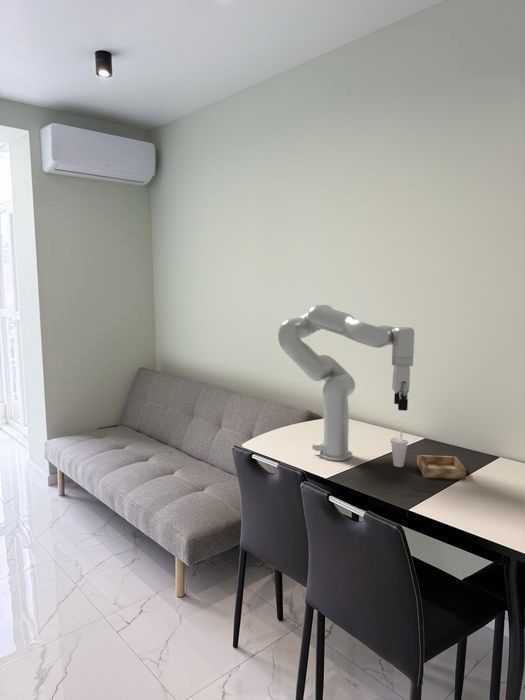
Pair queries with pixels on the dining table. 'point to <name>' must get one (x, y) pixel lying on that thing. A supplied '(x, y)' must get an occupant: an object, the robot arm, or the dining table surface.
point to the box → (441, 467)
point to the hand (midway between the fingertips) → (400, 407)
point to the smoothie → (399, 450)
